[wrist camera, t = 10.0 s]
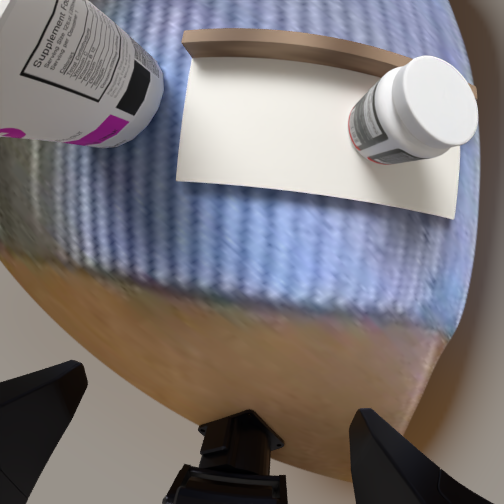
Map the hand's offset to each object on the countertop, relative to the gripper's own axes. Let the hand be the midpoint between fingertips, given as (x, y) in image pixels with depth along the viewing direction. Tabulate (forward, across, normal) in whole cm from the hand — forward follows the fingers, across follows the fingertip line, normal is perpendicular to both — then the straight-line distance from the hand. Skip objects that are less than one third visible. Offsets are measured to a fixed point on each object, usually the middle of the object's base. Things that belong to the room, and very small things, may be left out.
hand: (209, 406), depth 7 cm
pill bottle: (+12, -8, -11) cm, 18 cm away
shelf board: (+13, -5, -11) cm, 18 cm away
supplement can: (+13, +11, -13) cm, 22 cm away
